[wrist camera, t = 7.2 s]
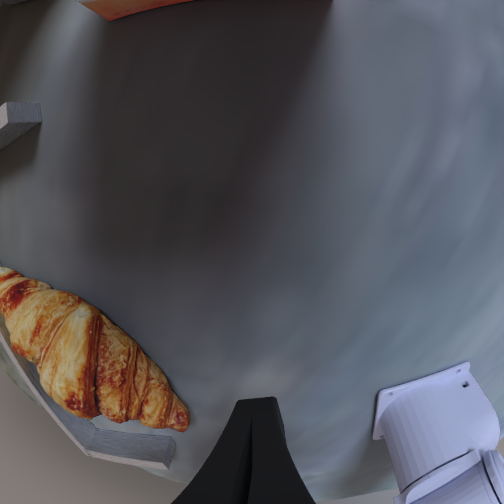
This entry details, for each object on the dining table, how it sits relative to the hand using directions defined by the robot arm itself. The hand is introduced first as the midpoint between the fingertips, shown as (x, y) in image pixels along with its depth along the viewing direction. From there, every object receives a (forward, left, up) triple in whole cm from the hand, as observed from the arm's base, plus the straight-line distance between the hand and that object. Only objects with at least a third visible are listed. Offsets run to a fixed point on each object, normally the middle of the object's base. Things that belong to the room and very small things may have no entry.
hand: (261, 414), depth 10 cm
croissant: (+15, +2, -10) cm, 18 cm away
